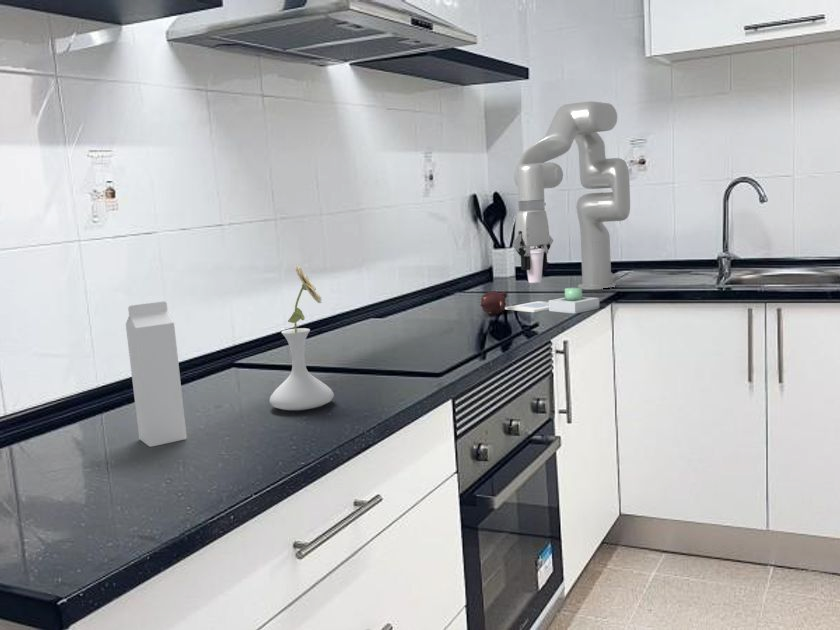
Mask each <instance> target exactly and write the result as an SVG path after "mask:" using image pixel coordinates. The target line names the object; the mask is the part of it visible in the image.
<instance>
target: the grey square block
mask: <svg viewBox="0 0 840 630" xmlns="http://www.w3.org/2000/svg"><path fill="white" fill-rule="evenodd" d="M548 302H549V310H548V312H554V313H555V312H557V313H566V314H576V315H577V314H579V313H585V312H588V311H589V312H591V311H594V310H598V309H600V298H599V297H592V296H591V297H589V296H588V297H587V296H582V300H579V301H565V297H560V298H559V297H558V298H556V299H549V300H548Z"/></svg>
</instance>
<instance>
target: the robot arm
mask: <svg viewBox="0 0 840 630" xmlns="http://www.w3.org/2000/svg"><path fill="white" fill-rule="evenodd" d="M617 122H618V112H617V109H616V108H615V106H613V104H611V103H608V102H600V101H582V102H581V101H580V102H575V103H567V104H562V105H561V106H559V108H558V109H557V110H556V112H555V114H554V116H553V118H552V120H551V122H550V124H549V127H548V129H547V130H546V133H545V136H543V137H541V138H540V139H539V140H537V141H536V142H535V143H533V144H532V145H531V146H529V147H528V148H527V149H525V151H524V152H523V153H522V154H521V156H520V159H519V160H518V162H517V165H516V166H515V171H514V177H513V178H514V183H515V185H516V186H517V198H518V199H517V201H518V212H516V217H515V226H514V241H513V243H512V247H513V248H514V250H515V251H516V252H517V254H518V257H520V269H521V271H527V270H530V256H528V254H529V250H530V249H531V247H534V246H536V248H544V251H545V252H544V254H543V267H542V269H543V268H547V267H548V254H549V250H550V248H551V245H553V242H554V239H553V238H552V236H551V235H550V228H549V220H548V215H547V211H546V205H547V204H546V201H545V189H552V188H553V189H554V188H556V187H558V186H559V185H560V184H561V183H562V181H563V180H564V173H563V169H562V167H561V166H560V165H559V164H557V162H551V161H552V160H555V159H556V158H557V159H558V158H559V157H561V156H564V155H565V154H566V153H568V152H569V150H570V149H571V147H572V145H573V143H574V141H575V142H576V145H577V148H578V164H579V167H578V168H579V181H580V185H581V186H582V187H583V188H584V189H588V190H589V189H591V190H595V189H597V190H598V189H599V190H601V189H611V190H612V191H610V192H609V191H608V192H607V191H606V192H590V193H585V194H583V195H581V196H580V197H579V198H578V199H577V201H576V213H577V218H578V219H577V220H578V223H579V231H580V233H579V234H580V248H581V249H580V251H581V252H580V253H581V254H580V255H581V258H580V259H581V275H582V276H581V277H582V278H581V280H582V283H579V284H578V285H577V287H579V288H582V290H587V291H592V290H593V291H595V290H598V291H599V290H604V289H603V288H608V287H612V286H615V285H616V286H617V283H616V282H614V280H619V279H620V277H621V275H620V274H619V273H613V272H612V264H611V237H610V232H609V230H608V228H607V227H606V226H605V225H604V222H620V221H621V222H622V221H625V220H627V218H628V217H629V215H630V212H631V187H630V184H631V183H630V170H629V166H628V164H627V162H626V161H625V160H624V159H622V158H619V157H612V158H611V157H610V158H607V157H606V147H605V146H606V145H605V142H604V140H603V138H602V137H601V136H600V134H599V133H600V132H610V131H611V130H613V129H614V128H615V127H616V125H617ZM549 161H550V162H549ZM524 249H525V251H524Z"/></svg>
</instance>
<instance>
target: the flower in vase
mask: <svg viewBox="0 0 840 630" xmlns="http://www.w3.org/2000/svg"><path fill="white" fill-rule="evenodd" d="M294 268H295V269H294V270H295V272H296V274H297V276H298V278H299V279H300V281H301V283H302V284H301V289H300V290H299V293H298V296H297V298H296V300H295V301H296V302H295V305H294V311H293V313H292V315H291V316H290V317H289V319H288V320H287V322H289V323H292V324H294V328H290V329H289V328H288V329H285V330H282V331H281V335H283V337H285V339H286V341H287V343H288V346H289V349H290V355H291V363H292V367H291V371H290V374H289V376H288V377H287V378H286V379H285V380H284V381H283V382H282V383H280V384H279V386H278V387H277V388H276V389H275V390H274V391H273V393H272V394H271V395H270V397H269V404H270V405H271V406H272V407H273V408H277V409H279V410H283V411H305V410H306V411H307V410H310V409H311V410H312V409H315V408H319V407H323V406H325V405H326V404H328V403H330V402H332V400H333V398H334V396H335V394H334V392H333V389H332V388H330V387H329V386H328V385H327V384H325V383H324V382H323V381H321V380H320V379H318V378H316V377H315V376H313V375H312V374H311V373H310V372H309V371H308V370H309V369H307V365H306V360H305V347H306V340H307V337H308V334H309V333H310V332H311V329H310V328H305V327H303V328H302V327H300V328H299V327H297V322H299V321H300V320H301V321H304V320H305V315H304V313H303V311H302V310H301V309H300V307H298V303H299V301H300V298H301V296H302V293H303V291H307V292H308V293H309V295H310V296H311V297H312V298H313V300H315V301H316V302H317V303H318V304H322V297H321V295H319V293H318V292H317V289H316V287H315V286H314V284H311V282H310V279H309V277H308V275H307V274H306V273H305V274H304V272H303V269H302V267H301V266H300V265H299V266H298V265H295V267H294Z"/></svg>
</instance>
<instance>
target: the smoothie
mask: <svg viewBox="0 0 840 630" xmlns="http://www.w3.org/2000/svg"><path fill="white" fill-rule="evenodd" d="M524 251H525V248H524ZM544 252H545V251H544V248H537V246H533V248H530V250H529V254H528V256H530V270H526V275H527V281H528V284H529V283H530V284H537V283H541V282H542V279H543V278H542V277H543V268H542V267H543V254H544Z"/></svg>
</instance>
